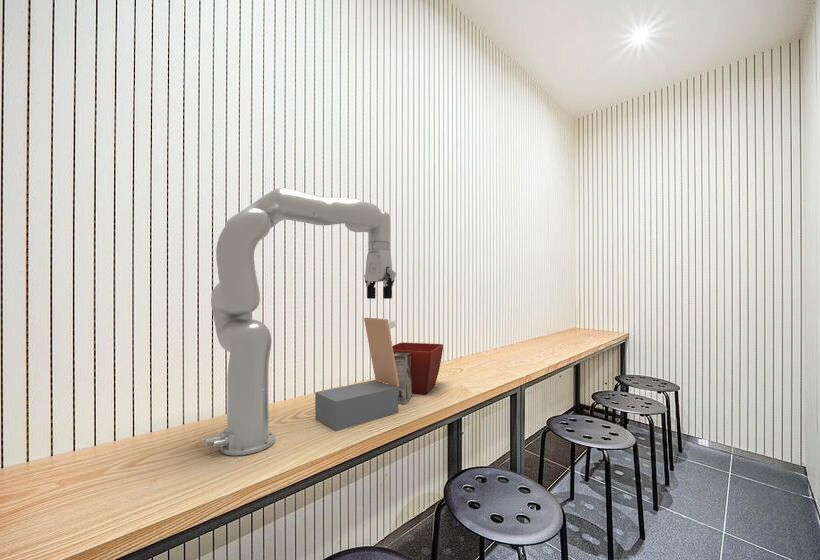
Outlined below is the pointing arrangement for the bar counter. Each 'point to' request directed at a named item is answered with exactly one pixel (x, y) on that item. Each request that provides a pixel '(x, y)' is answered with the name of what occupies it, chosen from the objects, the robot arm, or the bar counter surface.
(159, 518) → the bar counter surface
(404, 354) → the coffee box
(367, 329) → the lid
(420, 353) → the plant pot
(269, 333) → the robot arm
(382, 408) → the carton
